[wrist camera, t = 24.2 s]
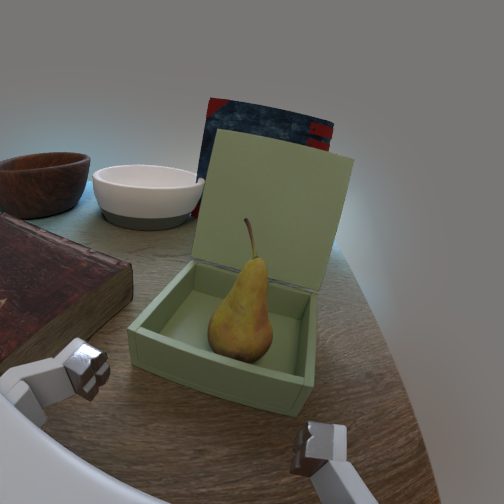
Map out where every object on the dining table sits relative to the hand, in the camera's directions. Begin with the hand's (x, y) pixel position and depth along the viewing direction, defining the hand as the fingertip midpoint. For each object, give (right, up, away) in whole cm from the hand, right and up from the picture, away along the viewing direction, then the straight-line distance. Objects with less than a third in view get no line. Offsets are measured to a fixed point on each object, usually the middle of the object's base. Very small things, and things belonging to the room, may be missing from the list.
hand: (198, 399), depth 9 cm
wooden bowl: (-45, +16, +39) cm, 62 cm away
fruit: (0, -4, +15) cm, 16 cm away
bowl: (-20, +13, +45) cm, 51 cm away
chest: (0, -4, +17) cm, 18 cm away
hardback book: (-27, +1, +14) cm, 31 cm away
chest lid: (+4, +10, +19) cm, 22 cm away
